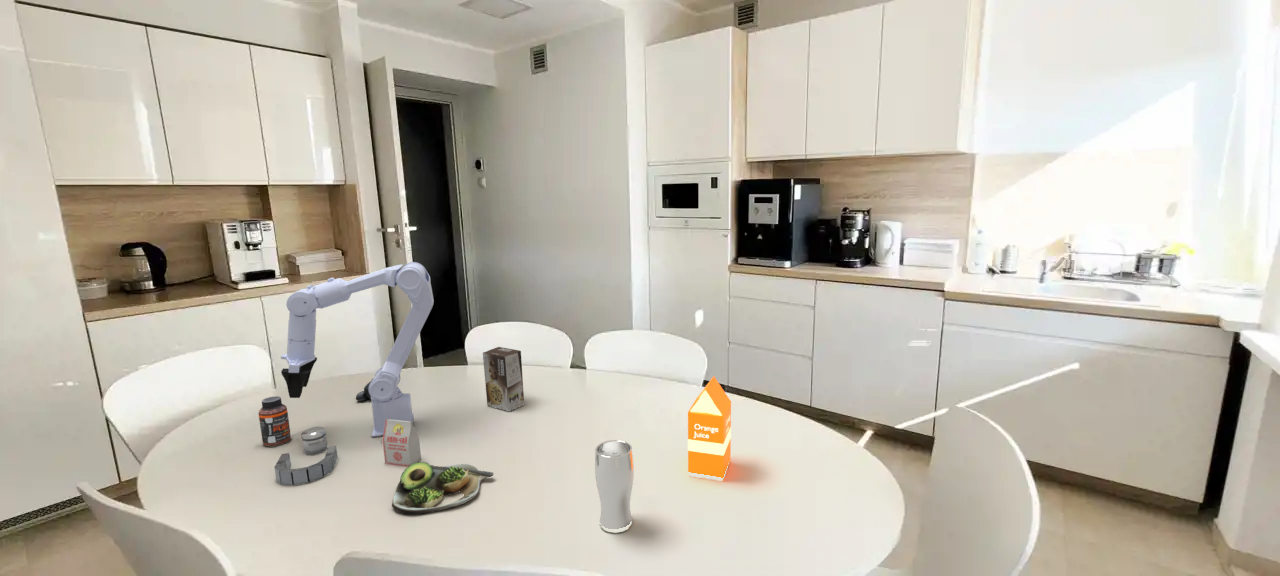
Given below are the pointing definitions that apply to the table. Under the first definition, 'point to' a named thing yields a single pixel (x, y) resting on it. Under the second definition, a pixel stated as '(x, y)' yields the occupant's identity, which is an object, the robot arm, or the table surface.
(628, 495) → the beer glass
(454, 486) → the avocado toast plate
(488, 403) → the coffee box
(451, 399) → the table surface
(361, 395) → the can opener
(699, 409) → the orange juice
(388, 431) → the white paper bag
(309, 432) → the cylinder
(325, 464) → the split ring collar
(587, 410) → the table surface
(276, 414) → the supplement bottle
